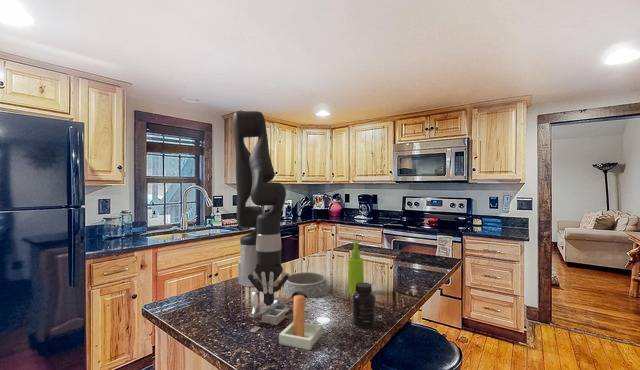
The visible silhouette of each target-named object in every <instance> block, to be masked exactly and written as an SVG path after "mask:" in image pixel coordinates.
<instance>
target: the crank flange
mask: <svg viewBox="0 0 640 370" xmlns="http://www.w3.org/2000/svg"><path fill="white" fill-rule="evenodd" d="M272 309H274V308H272ZM278 310H284V311H285V315H286V314H288V313H289V312H290V306H289V305H288V304H285V307H284V308H283V309H278ZM260 329H261V327H260V326H256V325H255V326H254V327H252V328H251V329H250V330H249V332H251V333H256V332H257V331H259V330H260Z"/></svg>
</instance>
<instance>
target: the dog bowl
mask: <svg viewBox="0 0 640 370" xmlns="http://www.w3.org/2000/svg"><path fill="white" fill-rule="evenodd" d="M328 292H329V287H328V283H327V280H326V276H324V275H323V274H320V273H317V272H309V271H308V272H297V273H292V274H289V278H288V279H287V281H286V282H285V283H284V284H283V288H282V293H283V295H285V296H287V297H290V298H292V296H294V295H303V296H307V299H314V298H320V297H322V296H324V295H327V293H328ZM293 294H294V295H293Z"/></svg>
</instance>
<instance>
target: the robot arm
mask: <svg viewBox="0 0 640 370" xmlns="http://www.w3.org/2000/svg"><path fill="white" fill-rule="evenodd" d="M232 127H233V138H234V150H235V183H236V185H235V186H236V196H237V197H236V224H237V226H238V227H239V228H243V229H248V228H250V229H252V228H254V229H253V231H251V232H249V233H247V234H246V235H243V236H241V237H240V238H239V239H240V240H239V241H240V242H239V243H240V246H239V248H240V252H239V253H240V257H239V258H240V260H239V261H238V262H237V263H238V264H237V265H238V267H237V268H238V271H237V273H238V274H237V276H238V277H237V278H238V282H237V283H238V285H240V286H242V287H248V288H249V287H254V288H255V289H256V291H259V292H260V293H262V294H263V303H264V305H266V306H271V305H272V304H273V302H274V298H275V293H277V292H279V291H280V290H281V289H282V287H284V283H285V282H286V281H287V279H288V278H289V275H290V273H288V272H287V273H286V272H285V271H284V268H283V266H282V238H281V217H282V213H283V208H284V205H285V201H286V196H287V192H286V188H285V185H284V184H283V183H282V182H271V181H273V179H274V178H275V170H274V167H273V163H272V160H271V155H270V149H269V148H270V147H269V140H268V132H267V124H266V119H265V116H264V114H263V112H261V111H256V110H251V111H246V110H244V111H243V110H242V111H235V112H234V114H233V116H232ZM245 138H257V142H256V144H254V147H253V149H252V150H251V152H250V151H249V149H248V148H247V146H246V144H245V142H244V140H245ZM249 198H250V200H251V202H252V203H253V204H254V206H253V205H249V206H246V204H247V203H248V200H249ZM262 206H263V207H264V206H265V207H266V206H267V207H269V206H271V209H270V210H269V211H267V212H264V213H263V208H262ZM280 275H281V276H280ZM279 277H280V279H281V280H280V281H279V282H278V284H277V285H275V284H276V281H277V280H278V278H279Z"/></svg>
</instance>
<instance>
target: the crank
mask: <svg viewBox="0 0 640 370" xmlns="http://www.w3.org/2000/svg"><path fill="white" fill-rule="evenodd" d="M285 301H286V300H285V298H284V297H274V302H273V304H272V305H271V306H266V304H264V305H262V306H261V291H260V292H259V291H258V290H253V291H252V292H251V311H250V312H249V313H248V317H249V318H254V319H256V318H258V317H259V316H260V315H261V316H262V314H263V313H265V312H267V311H269V310H270V309H272V308H274V309H283V308H284V307H285V305H286V303H285Z"/></svg>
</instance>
